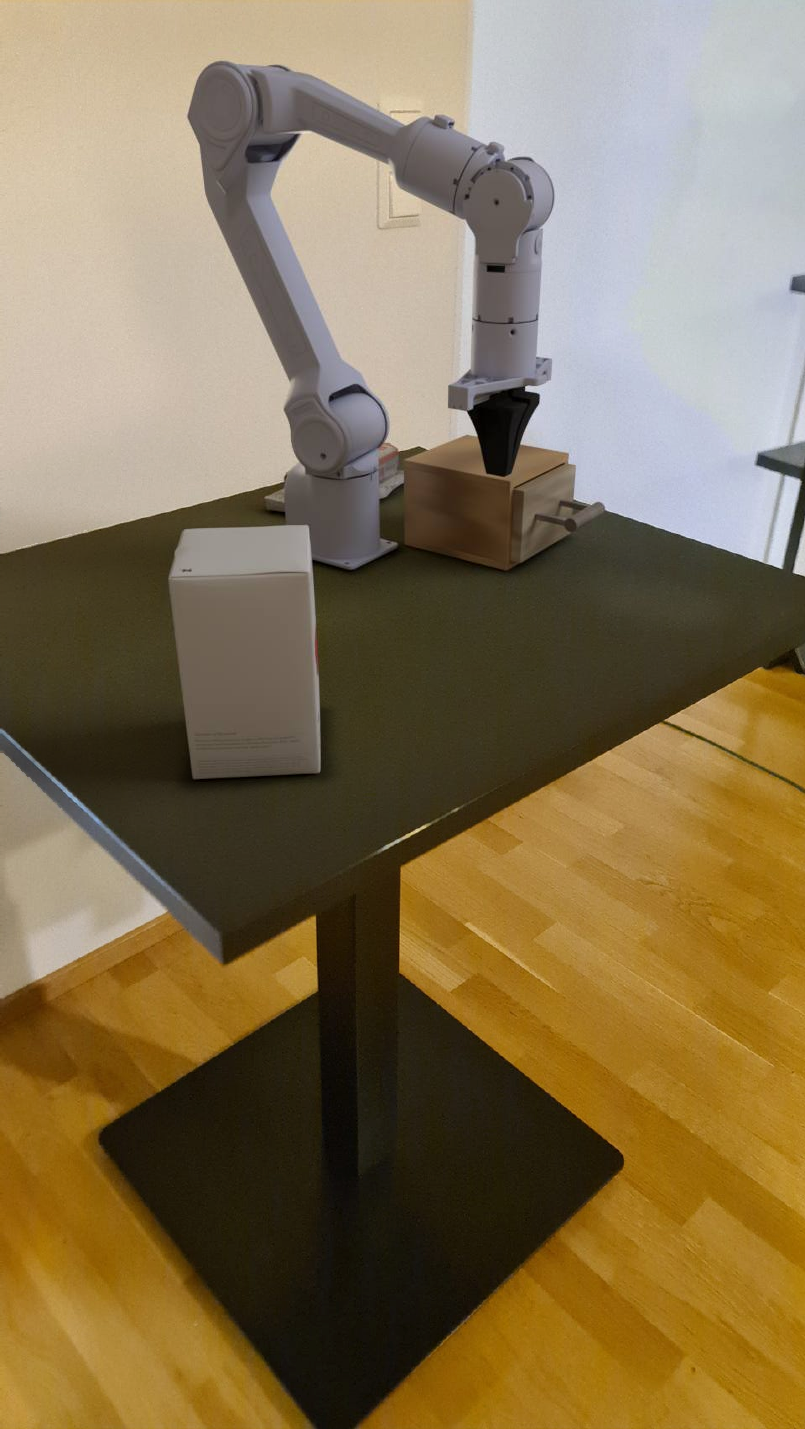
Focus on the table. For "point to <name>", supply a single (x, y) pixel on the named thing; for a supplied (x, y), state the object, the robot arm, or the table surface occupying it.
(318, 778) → the table surface
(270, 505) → the packaged product
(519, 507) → the drawer
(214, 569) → the rectangular carton
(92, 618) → the table surface
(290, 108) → the robot arm
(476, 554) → the cabinet
